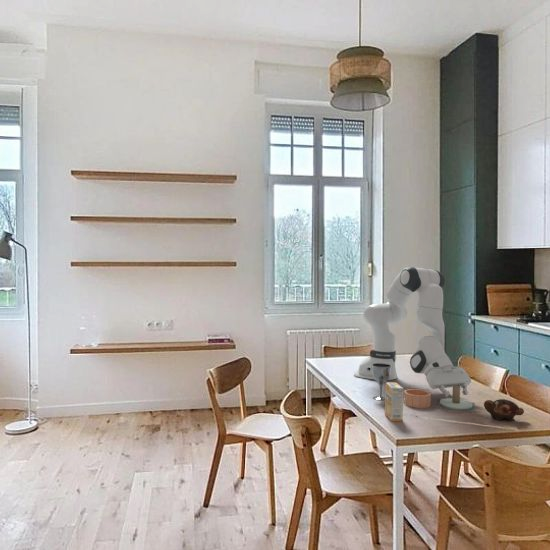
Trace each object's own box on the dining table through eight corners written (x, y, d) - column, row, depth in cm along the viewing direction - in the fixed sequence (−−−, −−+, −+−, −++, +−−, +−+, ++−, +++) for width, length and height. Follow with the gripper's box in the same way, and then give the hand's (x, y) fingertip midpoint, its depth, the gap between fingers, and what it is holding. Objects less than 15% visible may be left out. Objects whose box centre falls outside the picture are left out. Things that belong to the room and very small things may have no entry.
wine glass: (379, 401, 214) (380, 367, 214) (367, 397, 222) (368, 363, 221) (393, 399, 218) (394, 366, 218) (381, 395, 225) (382, 362, 225)
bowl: (402, 407, 207) (402, 394, 207) (405, 400, 217) (405, 387, 217) (429, 410, 203) (430, 397, 203) (431, 403, 214) (431, 390, 213)
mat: (436, 409, 205) (436, 407, 205) (438, 399, 219) (438, 398, 219) (475, 413, 200) (475, 412, 200) (474, 404, 214) (474, 402, 214)
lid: (439, 407, 206) (439, 388, 205) (440, 399, 218) (440, 381, 218) (472, 411, 201) (473, 392, 201) (471, 402, 213) (472, 384, 213)
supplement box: (384, 414, 197) (385, 382, 196) (395, 414, 197) (396, 382, 197) (390, 421, 188) (391, 387, 188) (403, 421, 189) (403, 387, 188)
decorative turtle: (478, 416, 197) (478, 396, 197) (514, 416, 198) (515, 396, 198) (490, 424, 188) (491, 403, 187) (528, 424, 189) (529, 403, 188)
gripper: (457, 369, 223) (472, 396, 215) (420, 372, 216) (434, 400, 207) (464, 362, 219) (480, 389, 210) (427, 364, 212) (441, 393, 203)
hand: (457, 395), depth 209 cm, fingers open, 8 cm apart
